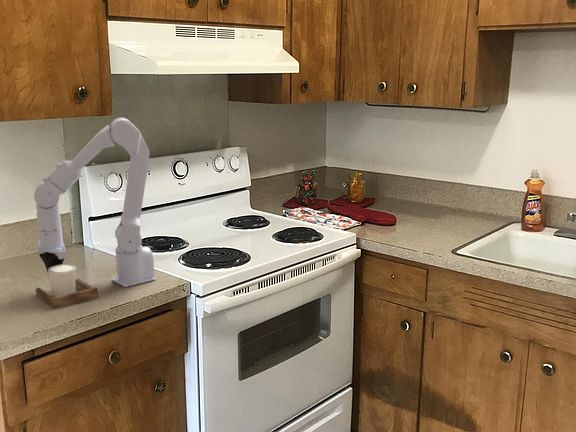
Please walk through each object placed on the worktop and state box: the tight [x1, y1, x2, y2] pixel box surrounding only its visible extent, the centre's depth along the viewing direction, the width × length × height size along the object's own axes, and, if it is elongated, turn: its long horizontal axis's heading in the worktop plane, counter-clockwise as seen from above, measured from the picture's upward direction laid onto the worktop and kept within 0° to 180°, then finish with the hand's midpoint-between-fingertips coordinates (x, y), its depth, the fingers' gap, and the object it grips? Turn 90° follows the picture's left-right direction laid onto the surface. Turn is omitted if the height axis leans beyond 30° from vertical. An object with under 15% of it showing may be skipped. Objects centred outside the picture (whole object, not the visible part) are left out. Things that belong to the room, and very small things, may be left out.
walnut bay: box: [35, 278, 99, 310], centre depth 160 cm, size 12×12×2 cm
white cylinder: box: [47, 263, 77, 297], centre depth 161 cm, size 7×7×7 cm
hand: (54, 278), depth 165 cm, fingers closed
